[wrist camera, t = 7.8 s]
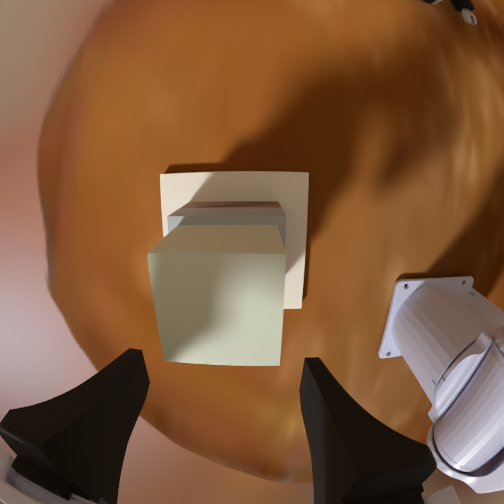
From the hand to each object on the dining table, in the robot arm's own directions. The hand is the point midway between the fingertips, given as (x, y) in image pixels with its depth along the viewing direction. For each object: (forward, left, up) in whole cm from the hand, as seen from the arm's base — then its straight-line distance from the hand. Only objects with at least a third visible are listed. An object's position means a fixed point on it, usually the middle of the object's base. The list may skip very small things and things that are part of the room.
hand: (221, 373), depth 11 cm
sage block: (0, -3, -5) cm, 5 cm away
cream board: (0, -3, -10) cm, 11 cm away
